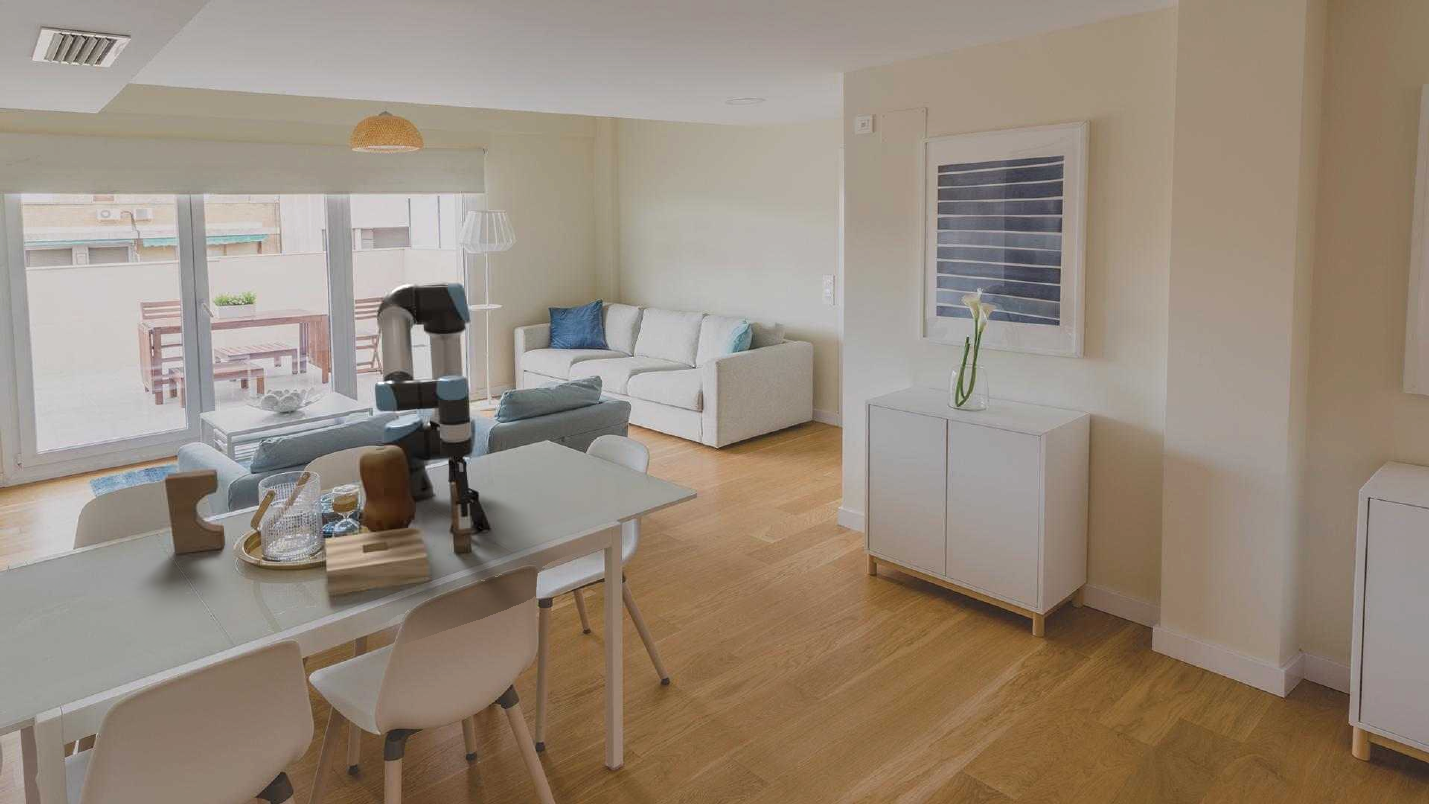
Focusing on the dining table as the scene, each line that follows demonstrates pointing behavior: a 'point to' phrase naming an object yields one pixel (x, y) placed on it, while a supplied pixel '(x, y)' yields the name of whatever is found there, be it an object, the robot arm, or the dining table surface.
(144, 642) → the dining table surface
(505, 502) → the dining table surface
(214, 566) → the dining table surface
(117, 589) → the dining table surface
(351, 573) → the seat block
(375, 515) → the butternut squash
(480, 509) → the black a-frame stand
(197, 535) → the decorative block
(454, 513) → the leg
